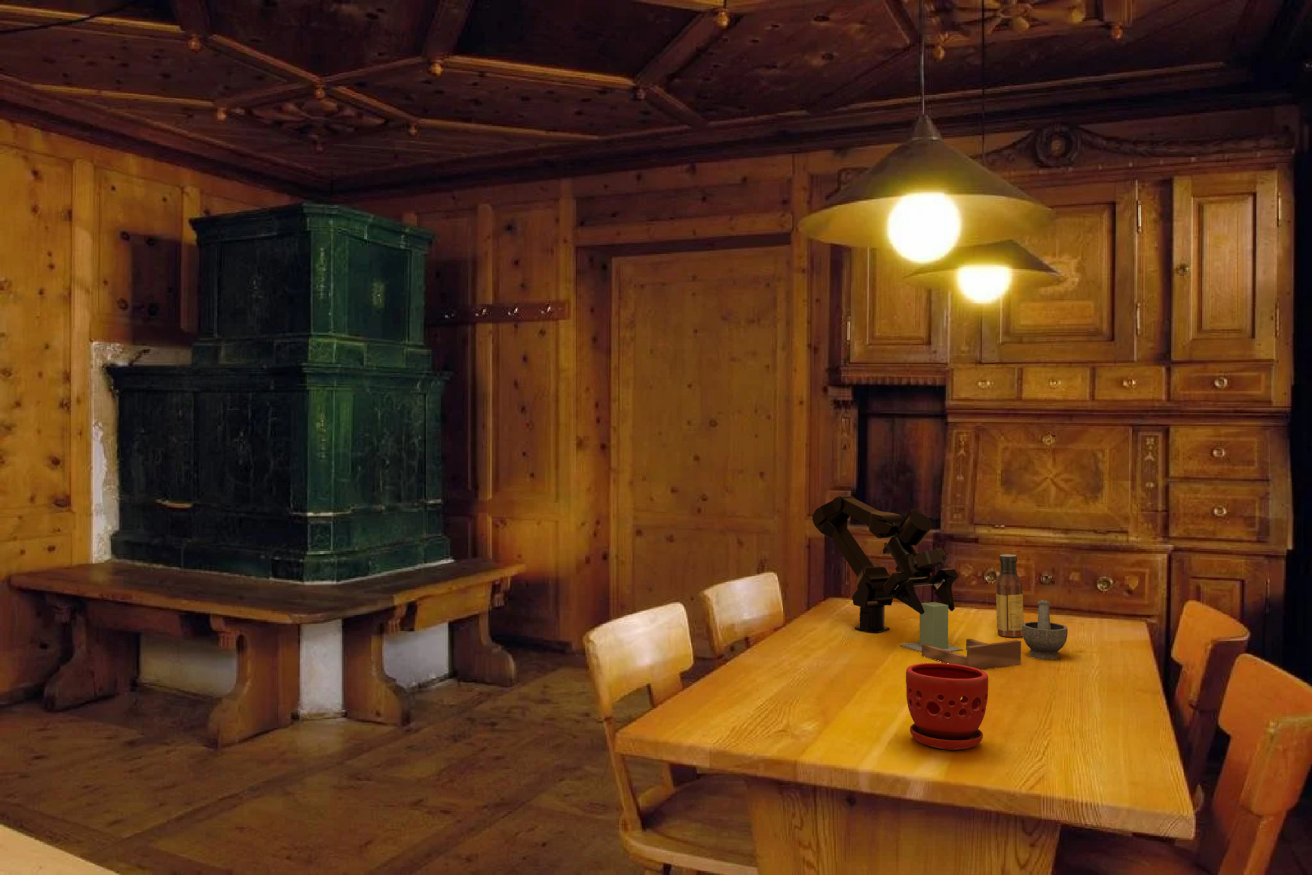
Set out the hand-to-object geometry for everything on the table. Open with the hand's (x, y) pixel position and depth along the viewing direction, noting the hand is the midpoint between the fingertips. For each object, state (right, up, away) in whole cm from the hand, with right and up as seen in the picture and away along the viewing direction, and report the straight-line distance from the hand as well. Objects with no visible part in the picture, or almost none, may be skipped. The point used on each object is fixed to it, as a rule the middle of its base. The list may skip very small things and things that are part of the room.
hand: (938, 611), depth 229 cm
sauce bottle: (+22, -9, +16) cm, 29 cm away
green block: (-1, -9, +1) cm, 9 cm away
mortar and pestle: (+22, -9, -5) cm, 25 cm away
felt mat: (-1, -9, +2) cm, 9 cm away
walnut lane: (+4, -9, -8) cm, 13 cm away
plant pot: (-17, -10, -64) cm, 67 cm away
